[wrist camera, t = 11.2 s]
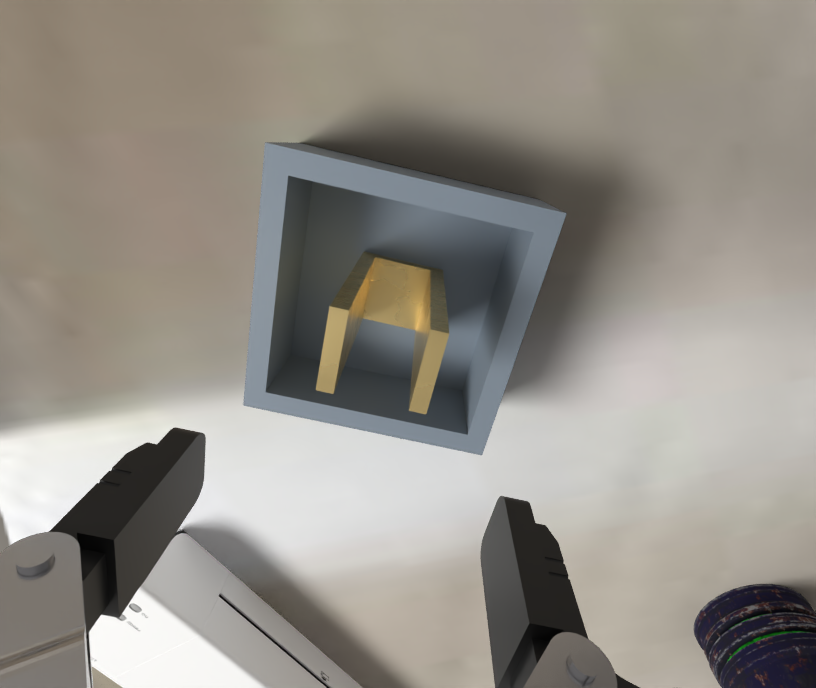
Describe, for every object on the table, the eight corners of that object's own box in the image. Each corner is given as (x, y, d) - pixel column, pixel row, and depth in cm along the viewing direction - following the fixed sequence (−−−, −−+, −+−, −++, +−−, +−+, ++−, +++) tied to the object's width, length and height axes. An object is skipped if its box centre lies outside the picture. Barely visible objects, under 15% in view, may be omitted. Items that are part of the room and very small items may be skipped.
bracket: (442, 270, 28) (449, 333, 19) (427, 328, 30) (425, 414, 20) (363, 251, 28) (329, 306, 18) (352, 311, 30) (315, 390, 20)
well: (538, 199, 27) (566, 213, 22) (473, 403, 33) (481, 455, 27) (299, 142, 26) (265, 142, 21) (275, 361, 32) (243, 405, 27)
